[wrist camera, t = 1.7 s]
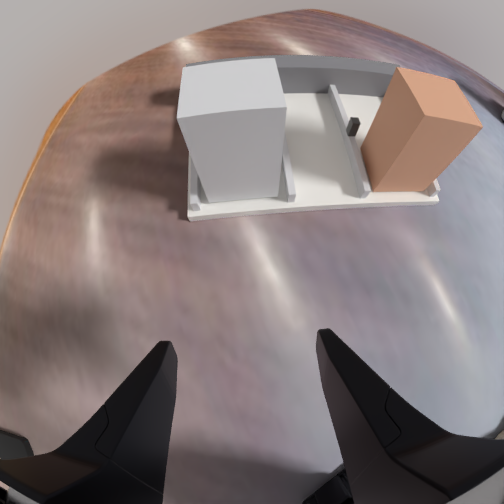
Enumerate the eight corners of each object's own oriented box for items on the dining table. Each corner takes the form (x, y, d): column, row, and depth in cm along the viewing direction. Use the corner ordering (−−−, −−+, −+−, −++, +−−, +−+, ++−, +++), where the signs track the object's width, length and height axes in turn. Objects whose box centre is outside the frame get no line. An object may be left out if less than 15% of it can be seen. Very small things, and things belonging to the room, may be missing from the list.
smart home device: (41, 540, 12) (-11, 429, 18) (47, 536, 14) (-3, 427, 20) (81, 558, 13) (22, 441, 18) (86, 552, 14) (31, 438, 20)
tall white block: (277, 196, 24) (286, 107, 14) (209, 202, 25) (176, 118, 14) (271, 150, 26) (274, 57, 15) (208, 156, 26) (183, 67, 15)
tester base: (434, 205, 25) (459, 183, 20) (190, 221, 26) (175, 196, 21) (387, 91, 30) (399, 64, 25) (194, 94, 30) (186, 64, 25)
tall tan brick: (423, 191, 24) (483, 127, 14) (373, 191, 24) (424, 115, 14) (408, 150, 26) (454, 80, 15) (360, 148, 26) (396, 66, 15)
